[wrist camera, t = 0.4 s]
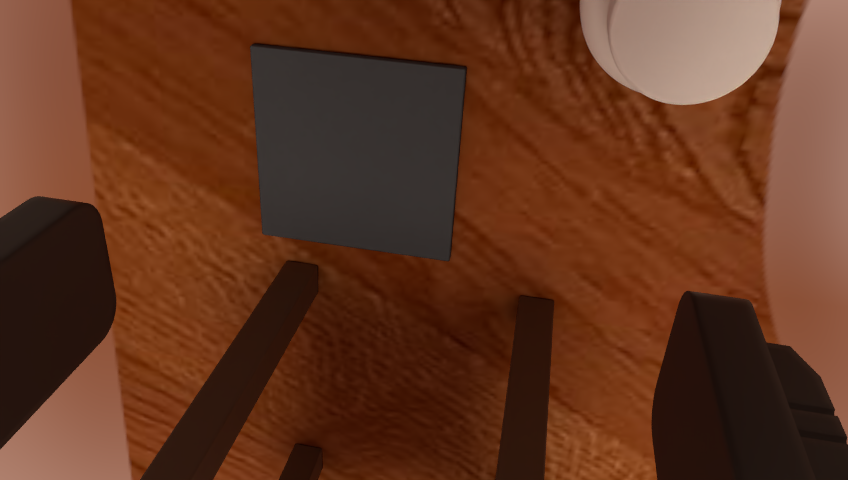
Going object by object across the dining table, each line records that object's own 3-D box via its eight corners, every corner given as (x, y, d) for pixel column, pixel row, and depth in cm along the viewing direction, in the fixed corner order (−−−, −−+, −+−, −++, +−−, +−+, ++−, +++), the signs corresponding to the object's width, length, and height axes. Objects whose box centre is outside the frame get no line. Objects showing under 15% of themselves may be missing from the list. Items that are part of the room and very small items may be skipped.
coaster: (253, 43, 30) (249, 45, 30) (466, 66, 29) (465, 69, 29) (265, 230, 35) (262, 234, 35) (450, 257, 34) (449, 261, 33)
